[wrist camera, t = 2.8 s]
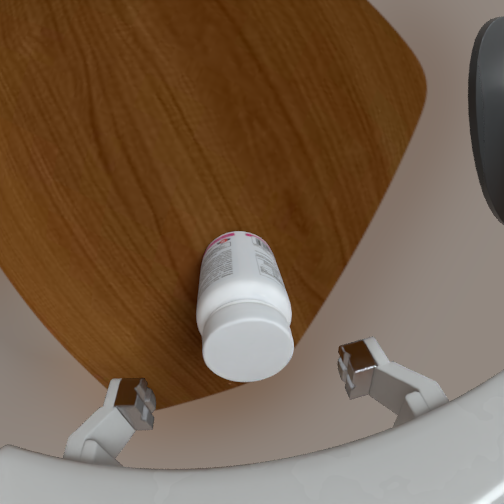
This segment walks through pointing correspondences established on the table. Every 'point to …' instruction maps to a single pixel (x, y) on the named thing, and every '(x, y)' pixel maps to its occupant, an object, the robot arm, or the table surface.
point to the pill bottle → (243, 309)
